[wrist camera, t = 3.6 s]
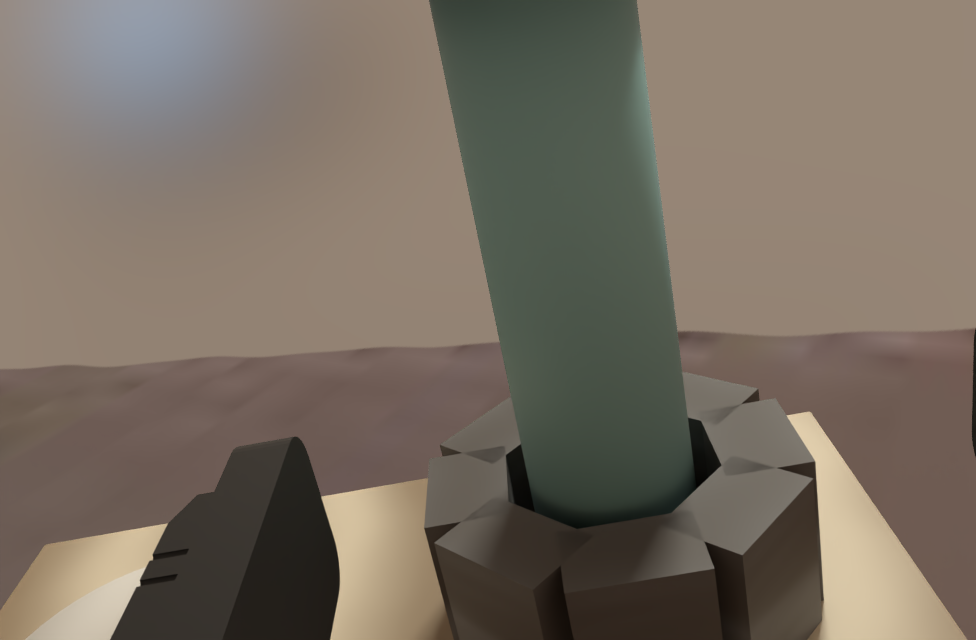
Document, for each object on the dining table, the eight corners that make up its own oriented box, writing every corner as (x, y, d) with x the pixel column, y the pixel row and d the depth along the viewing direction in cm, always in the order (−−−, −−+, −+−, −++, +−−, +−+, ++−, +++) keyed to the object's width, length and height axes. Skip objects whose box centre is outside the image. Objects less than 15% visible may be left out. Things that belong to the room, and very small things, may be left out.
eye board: (-211, 1016, 19) (-354, 836, 17) (61, 579, 32) (-2, 445, 30) (1058, 832, 18) (1074, 610, 16) (812, 450, 31) (802, 299, 29)
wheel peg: (501, 716, 21) (296, -99, 14) (494, 531, 28) (350, -94, 21) (810, 668, 21) (748, -196, 14) (730, 490, 27) (660, -160, 20)
